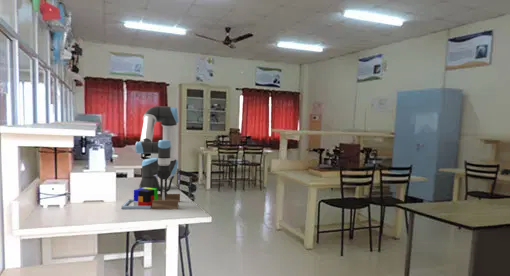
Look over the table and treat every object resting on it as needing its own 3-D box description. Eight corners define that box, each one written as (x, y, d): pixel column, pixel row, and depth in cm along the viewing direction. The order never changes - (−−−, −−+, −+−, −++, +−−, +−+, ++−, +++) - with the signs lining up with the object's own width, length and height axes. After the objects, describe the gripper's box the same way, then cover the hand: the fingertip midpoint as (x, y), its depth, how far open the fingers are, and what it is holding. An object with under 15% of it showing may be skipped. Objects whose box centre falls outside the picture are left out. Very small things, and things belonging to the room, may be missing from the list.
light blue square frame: (128, 201, 209) (128, 199, 209) (154, 201, 212) (154, 199, 212) (121, 208, 191) (121, 206, 191) (150, 208, 194) (150, 206, 194)
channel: (156, 201, 212) (156, 193, 212) (179, 201, 215) (180, 193, 214) (152, 208, 194) (152, 200, 194) (177, 208, 196) (177, 200, 196)
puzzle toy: (133, 206, 198) (133, 190, 198) (144, 202, 208) (144, 187, 207) (147, 208, 195) (147, 191, 195) (157, 204, 204) (157, 188, 204)
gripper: (152, 165, 198) (151, 203, 199) (174, 165, 200) (173, 203, 201) (154, 163, 205) (153, 200, 206) (175, 164, 208) (174, 200, 209)
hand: (163, 201), depth 204 cm, fingers closed
